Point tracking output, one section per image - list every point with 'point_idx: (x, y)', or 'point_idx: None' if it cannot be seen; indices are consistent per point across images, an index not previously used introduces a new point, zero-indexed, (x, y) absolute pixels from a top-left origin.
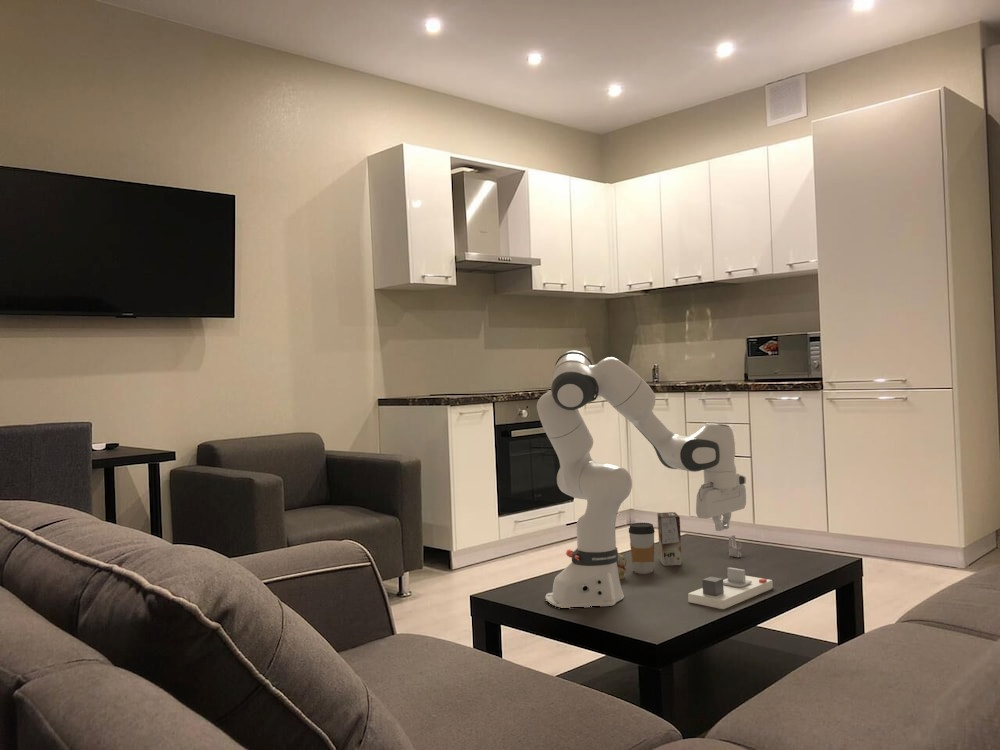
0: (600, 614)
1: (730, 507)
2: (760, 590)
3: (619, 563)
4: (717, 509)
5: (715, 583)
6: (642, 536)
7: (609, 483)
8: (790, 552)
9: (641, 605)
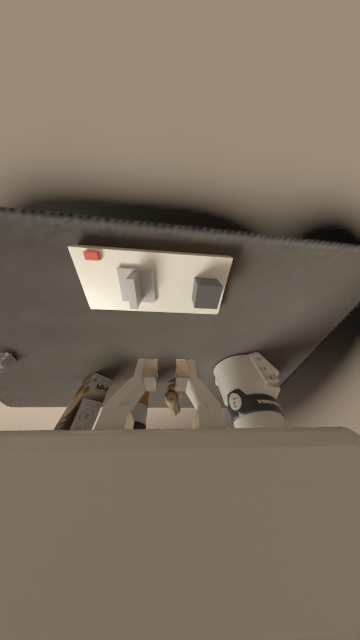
0: (285, 347)
1: (108, 478)
2: (116, 248)
3: (175, 395)
4: (293, 489)
5: (220, 285)
6: (141, 419)
7: None
8: None
9: (246, 336)
